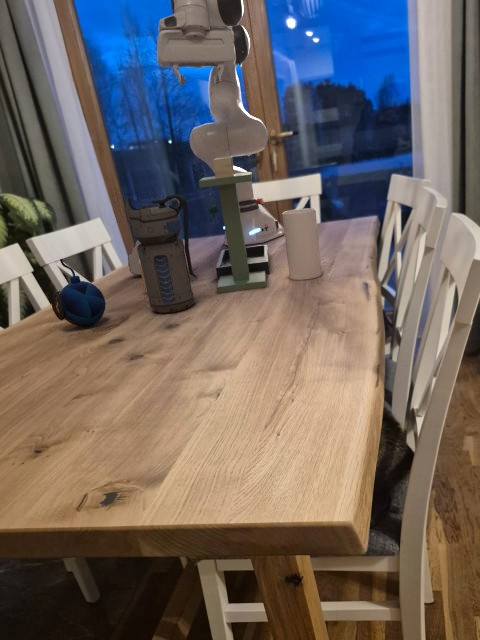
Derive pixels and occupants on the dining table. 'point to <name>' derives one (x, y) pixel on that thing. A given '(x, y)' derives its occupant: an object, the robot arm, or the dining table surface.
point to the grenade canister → (163, 252)
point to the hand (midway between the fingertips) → (200, 83)
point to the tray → (255, 257)
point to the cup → (302, 243)
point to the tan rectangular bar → (223, 167)
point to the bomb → (78, 302)
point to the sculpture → (134, 260)
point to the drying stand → (234, 235)
